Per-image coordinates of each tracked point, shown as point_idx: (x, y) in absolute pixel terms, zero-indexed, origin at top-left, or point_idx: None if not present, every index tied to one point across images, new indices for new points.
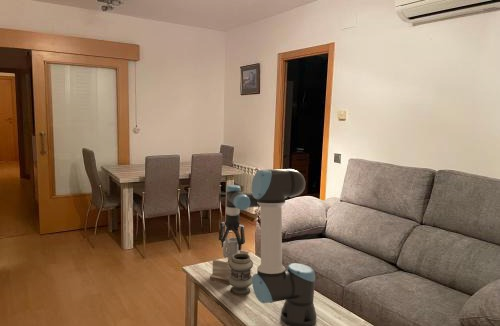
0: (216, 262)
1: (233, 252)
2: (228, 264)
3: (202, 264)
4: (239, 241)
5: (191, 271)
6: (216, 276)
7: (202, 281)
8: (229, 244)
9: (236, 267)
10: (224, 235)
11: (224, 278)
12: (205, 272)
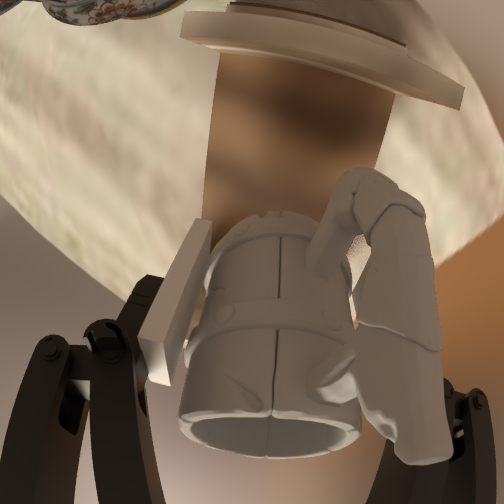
0: (419, 66)
1: (252, 259)
2: (259, 16)
3: (455, 243)
4: (89, 396)
5: (501, 153)
6: (361, 34)
7: (430, 24)
8: (323, 356)
9: None
10: (433, 488)
11: (289, 14)
12: (441, 146)
